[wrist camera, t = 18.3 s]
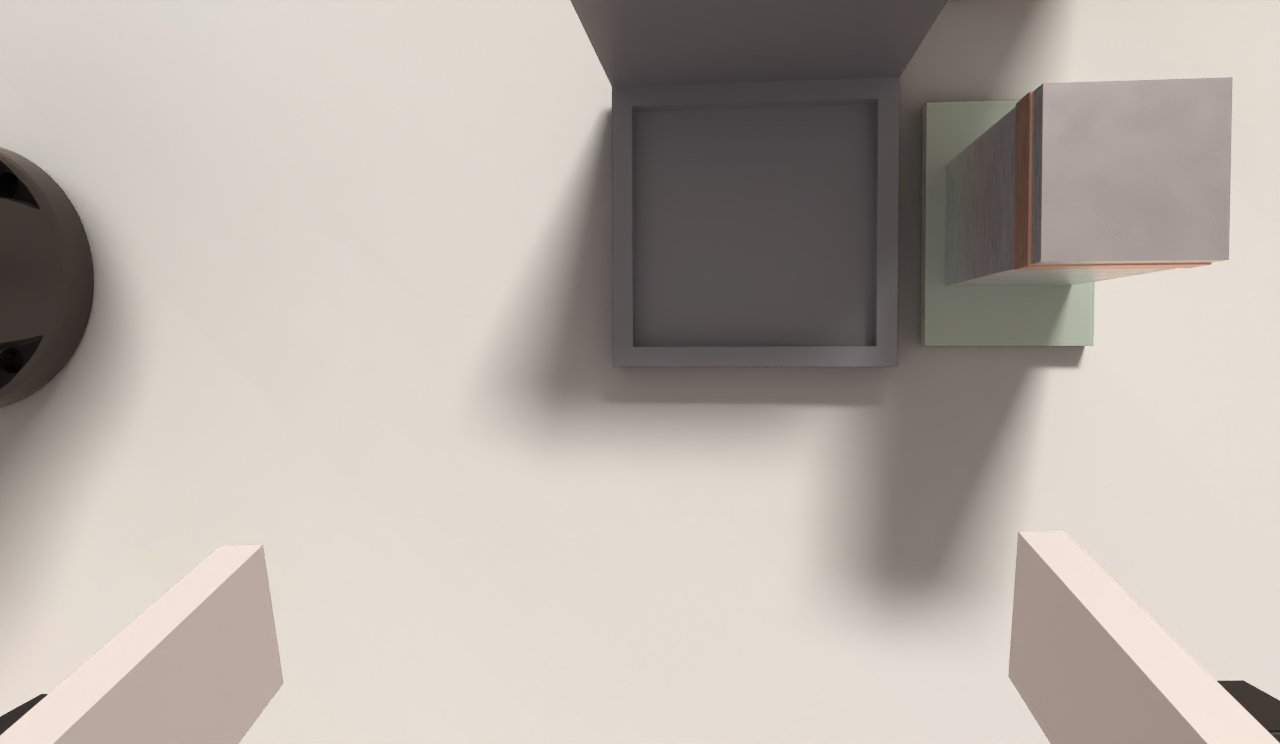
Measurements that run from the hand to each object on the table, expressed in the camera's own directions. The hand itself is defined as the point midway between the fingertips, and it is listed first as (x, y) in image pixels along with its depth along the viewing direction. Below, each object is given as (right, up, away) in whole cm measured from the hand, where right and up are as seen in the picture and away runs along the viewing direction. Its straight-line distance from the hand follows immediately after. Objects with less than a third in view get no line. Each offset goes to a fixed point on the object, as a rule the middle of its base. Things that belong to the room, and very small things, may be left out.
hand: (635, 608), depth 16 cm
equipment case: (+6, +11, +31) cm, 33 cm away
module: (+18, +11, +28) cm, 36 cm away
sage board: (+18, +11, +29) cm, 36 cm away
